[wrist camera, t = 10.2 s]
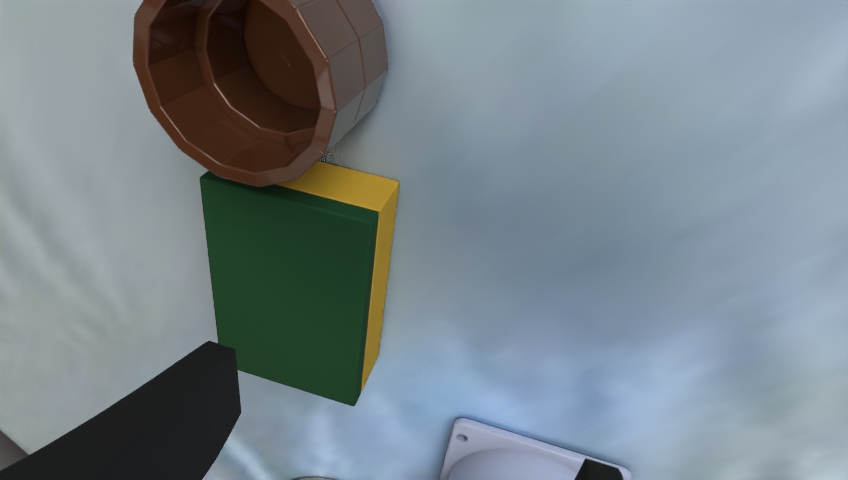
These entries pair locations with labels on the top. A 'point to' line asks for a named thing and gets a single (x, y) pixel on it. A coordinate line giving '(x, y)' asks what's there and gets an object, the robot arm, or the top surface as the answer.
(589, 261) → the top surface
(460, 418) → the robot arm
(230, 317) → the sponge
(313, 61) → the brown hollow cylinder
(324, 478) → the mug
